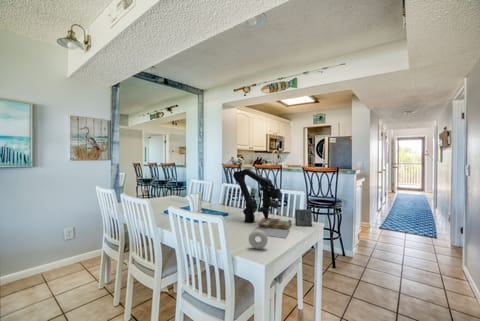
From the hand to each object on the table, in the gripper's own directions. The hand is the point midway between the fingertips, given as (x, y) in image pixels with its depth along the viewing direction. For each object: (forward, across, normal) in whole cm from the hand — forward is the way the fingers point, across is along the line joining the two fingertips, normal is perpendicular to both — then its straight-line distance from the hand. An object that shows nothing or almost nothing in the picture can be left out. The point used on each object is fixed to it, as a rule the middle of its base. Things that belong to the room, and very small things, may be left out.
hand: (266, 219), depth 160 cm
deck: (+4, +1, -6) cm, 7 cm away
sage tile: (+1, +2, -12) cm, 12 cm away
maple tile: (+1, -5, 0) cm, 5 cm away
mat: (+4, -14, -6) cm, 16 cm away
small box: (+4, +10, -24) cm, 26 cm away
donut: (+4, -41, -5) cm, 41 cm away
